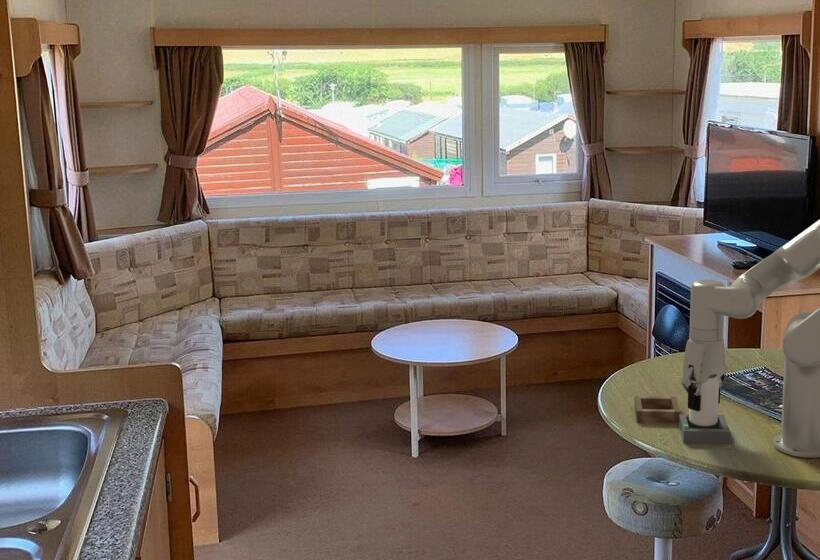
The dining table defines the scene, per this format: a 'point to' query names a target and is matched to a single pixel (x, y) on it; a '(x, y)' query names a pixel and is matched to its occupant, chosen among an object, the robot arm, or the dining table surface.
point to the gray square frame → (704, 431)
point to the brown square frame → (656, 409)
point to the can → (706, 404)
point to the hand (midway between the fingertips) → (703, 405)
